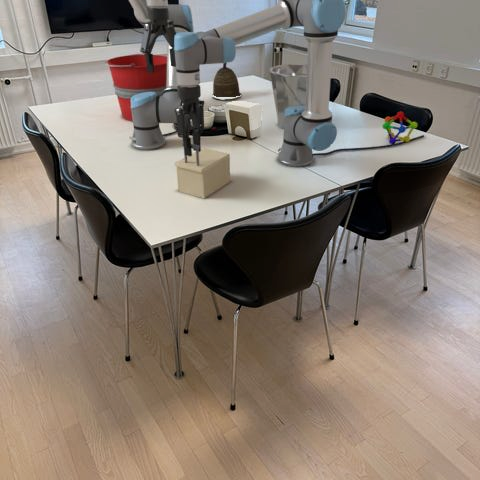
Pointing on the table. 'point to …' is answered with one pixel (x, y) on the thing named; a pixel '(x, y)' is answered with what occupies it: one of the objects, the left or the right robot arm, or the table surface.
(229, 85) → the bell
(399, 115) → the educational toy
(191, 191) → the chest
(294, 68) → the bucket
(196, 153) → the lid
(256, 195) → the table surface
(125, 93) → the bucket
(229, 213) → the table surface
